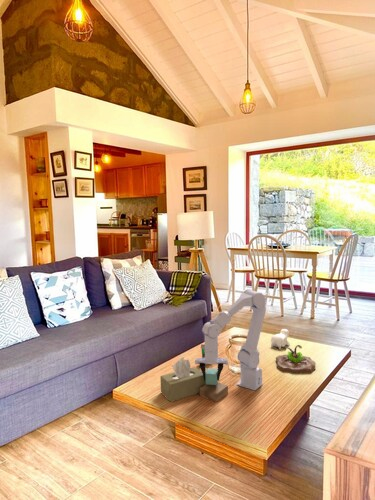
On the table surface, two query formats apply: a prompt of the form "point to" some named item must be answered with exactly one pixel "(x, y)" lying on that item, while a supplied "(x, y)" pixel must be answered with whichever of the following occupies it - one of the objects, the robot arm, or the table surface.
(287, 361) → the plant
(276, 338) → the white animal figurine
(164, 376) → the tissue box
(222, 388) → the walnut block
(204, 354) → the food container
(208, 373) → the teal cube
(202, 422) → the table surface
